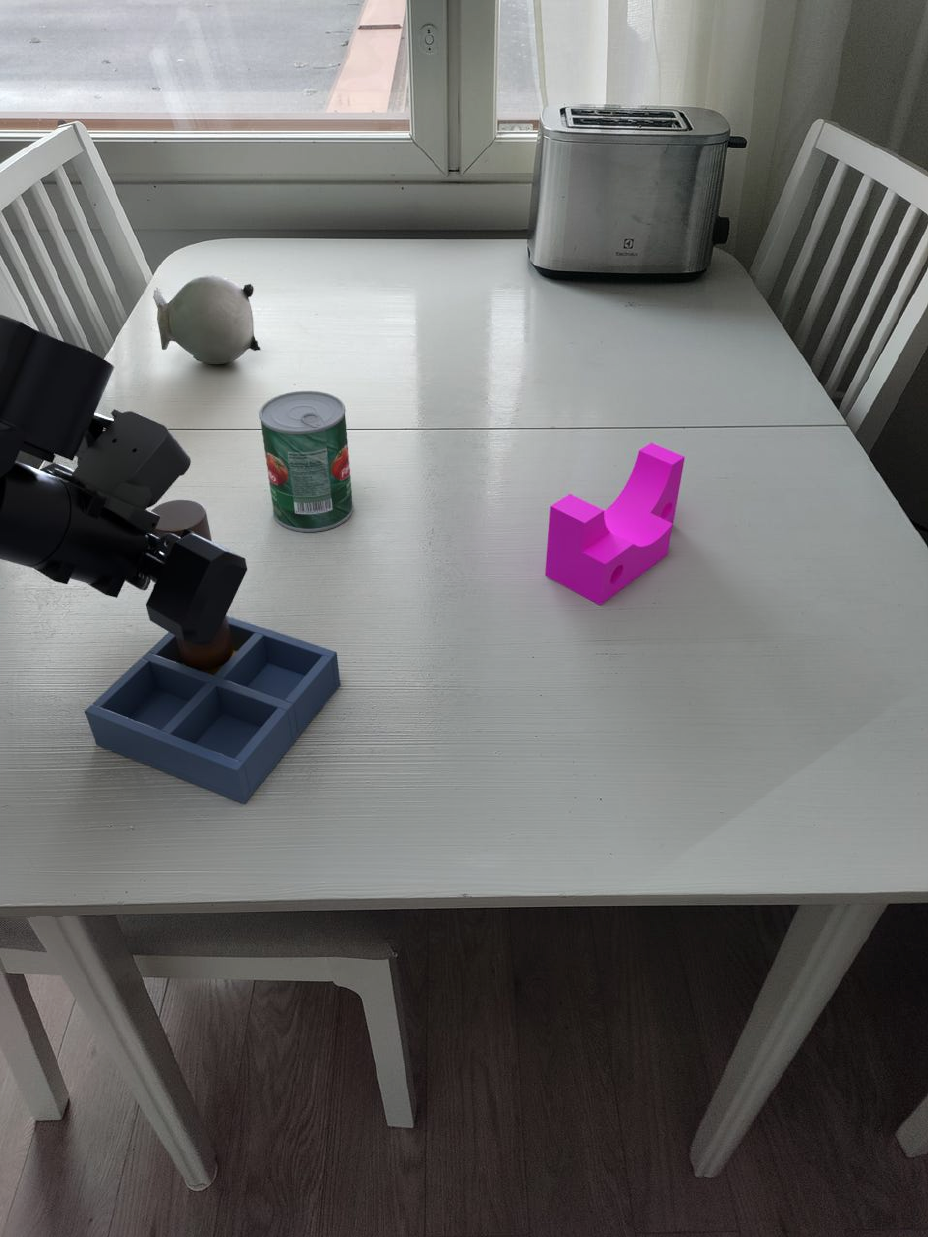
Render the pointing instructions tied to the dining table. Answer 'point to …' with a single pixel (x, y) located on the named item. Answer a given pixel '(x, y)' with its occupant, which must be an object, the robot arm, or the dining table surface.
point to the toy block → (616, 529)
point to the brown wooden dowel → (195, 520)
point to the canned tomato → (307, 460)
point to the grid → (217, 709)
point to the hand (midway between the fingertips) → (206, 576)
